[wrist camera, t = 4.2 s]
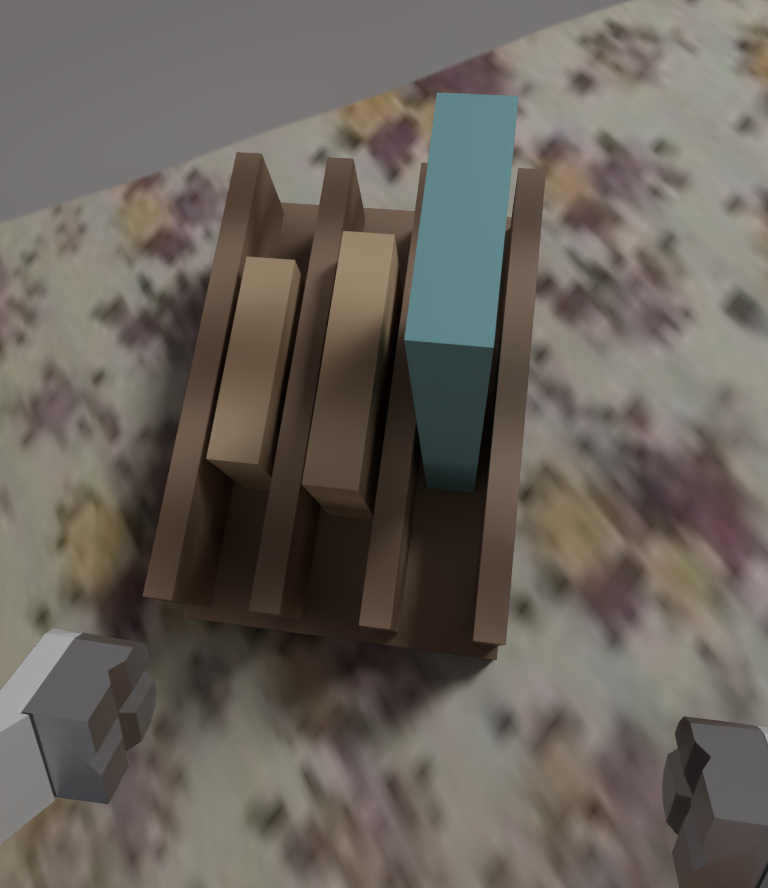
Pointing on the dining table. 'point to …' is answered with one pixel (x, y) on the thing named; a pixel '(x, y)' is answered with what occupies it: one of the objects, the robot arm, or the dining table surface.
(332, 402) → the short oak offcut
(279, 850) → the dining table surface
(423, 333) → the tall teal board
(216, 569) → the walnut board rack
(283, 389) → the small oak offcut
